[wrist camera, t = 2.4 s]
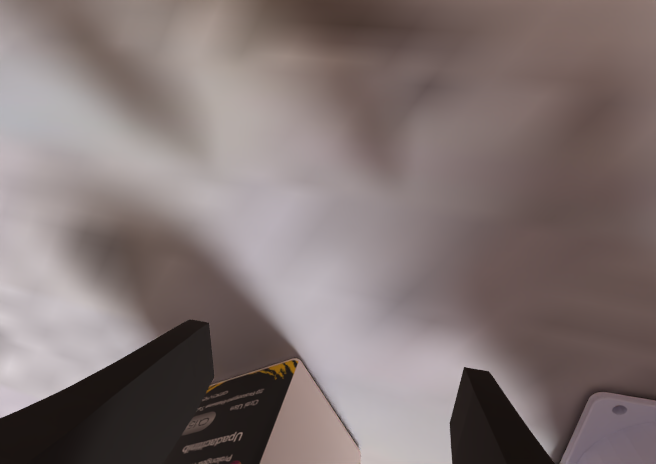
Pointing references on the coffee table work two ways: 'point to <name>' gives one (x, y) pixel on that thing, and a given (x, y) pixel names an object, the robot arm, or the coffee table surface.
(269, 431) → the medicine box
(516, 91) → the coffee table surface
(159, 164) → the coffee table surface
